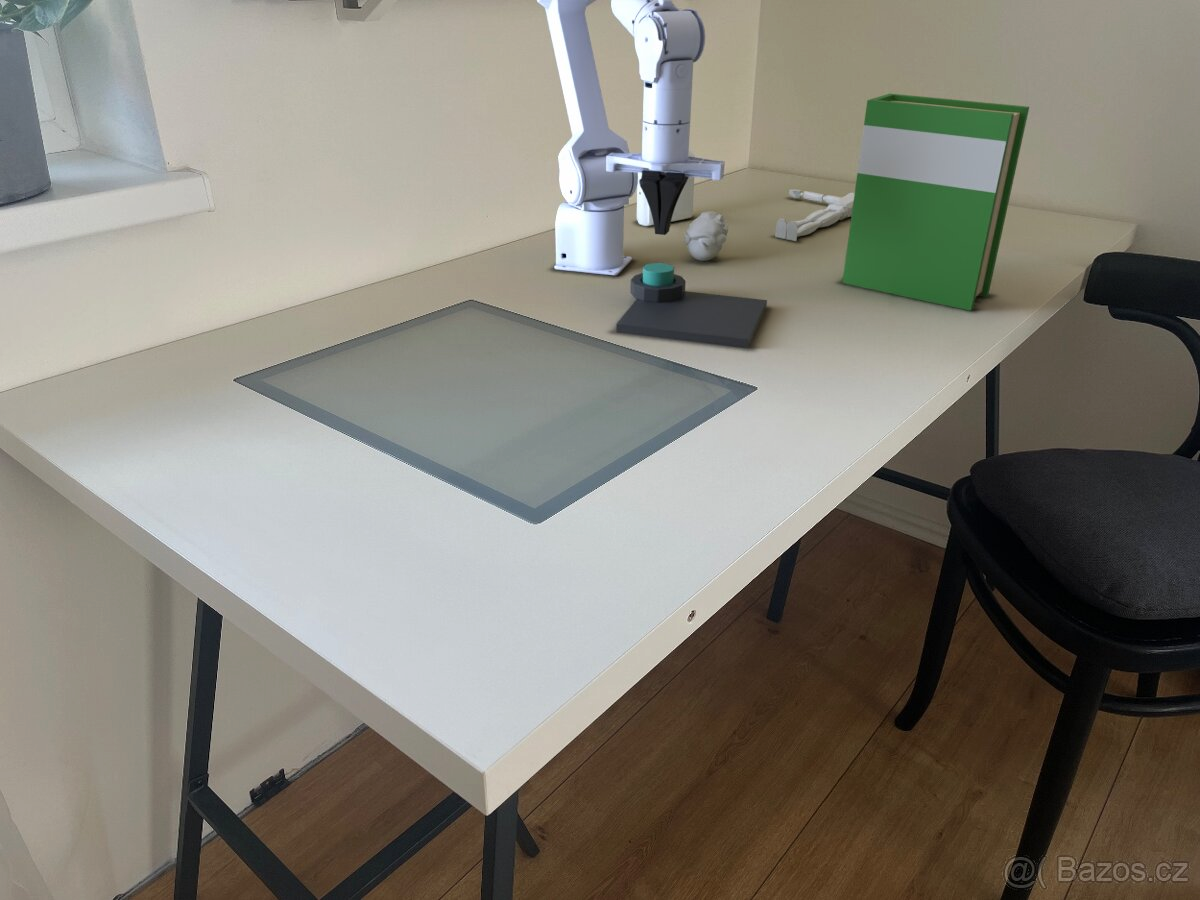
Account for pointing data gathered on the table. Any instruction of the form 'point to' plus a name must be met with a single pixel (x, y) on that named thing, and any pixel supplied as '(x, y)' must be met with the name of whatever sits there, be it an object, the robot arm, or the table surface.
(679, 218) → the photo printer
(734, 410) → the table surface
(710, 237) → the white rounded lumpy piece
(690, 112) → the robot arm
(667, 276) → the button
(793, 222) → the artist's mannequin
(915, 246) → the hardback book
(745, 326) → the scale
